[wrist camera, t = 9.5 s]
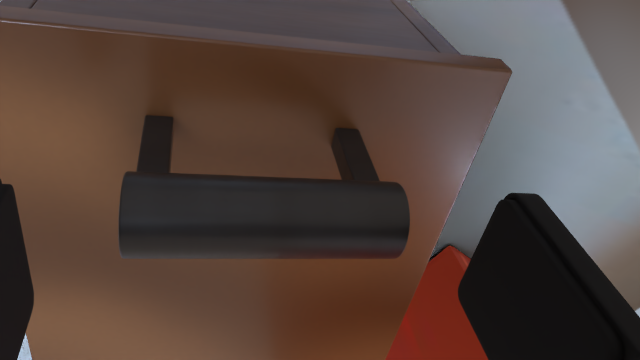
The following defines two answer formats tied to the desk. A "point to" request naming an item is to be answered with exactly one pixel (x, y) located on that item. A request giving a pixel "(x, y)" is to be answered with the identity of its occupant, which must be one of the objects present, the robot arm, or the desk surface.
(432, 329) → the file binder
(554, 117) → the desk surface
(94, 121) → the wooden box lid
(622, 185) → the desk surface
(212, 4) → the box
